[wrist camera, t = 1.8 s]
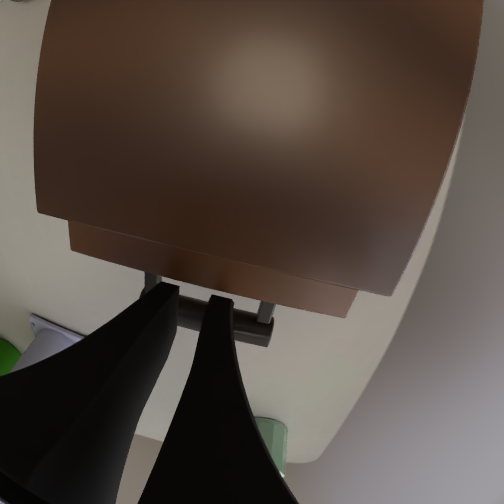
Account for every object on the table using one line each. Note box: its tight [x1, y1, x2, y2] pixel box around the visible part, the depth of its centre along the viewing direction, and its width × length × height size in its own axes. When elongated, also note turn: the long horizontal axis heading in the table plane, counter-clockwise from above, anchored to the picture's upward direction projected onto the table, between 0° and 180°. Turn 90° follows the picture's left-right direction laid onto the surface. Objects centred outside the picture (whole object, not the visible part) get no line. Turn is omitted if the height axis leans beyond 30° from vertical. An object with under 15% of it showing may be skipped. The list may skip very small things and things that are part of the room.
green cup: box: [254, 417, 288, 477], centre depth 26 cm, size 5×5×6 cm
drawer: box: [68, 221, 359, 347], centre depth 10 cm, size 17×9×7 cm, turn 168°
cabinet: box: [34, 0, 484, 296], centre depth 8 cm, size 14×11×9 cm
